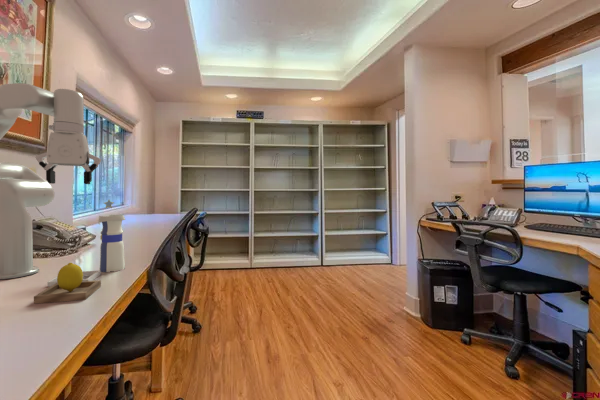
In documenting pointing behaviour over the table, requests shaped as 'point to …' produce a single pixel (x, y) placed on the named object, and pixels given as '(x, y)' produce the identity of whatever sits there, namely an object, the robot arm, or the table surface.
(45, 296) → the tray
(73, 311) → the table surface
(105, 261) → the water bottle
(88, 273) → the frame
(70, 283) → the lemon
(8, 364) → the table surface
